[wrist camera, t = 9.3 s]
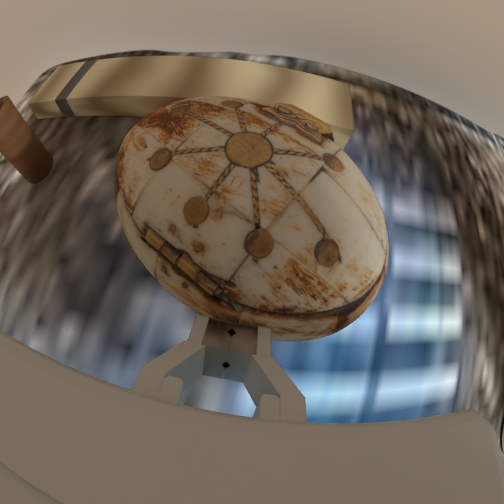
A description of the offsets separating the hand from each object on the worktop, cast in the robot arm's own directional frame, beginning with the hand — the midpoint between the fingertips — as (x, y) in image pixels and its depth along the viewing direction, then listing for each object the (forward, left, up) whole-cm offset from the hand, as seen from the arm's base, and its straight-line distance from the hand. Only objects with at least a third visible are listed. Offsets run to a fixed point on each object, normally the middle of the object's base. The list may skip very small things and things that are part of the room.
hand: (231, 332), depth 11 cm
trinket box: (0, -6, -5) cm, 8 cm away
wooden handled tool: (+19, -9, -5) cm, 22 cm away
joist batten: (+9, -18, -5) cm, 21 cm away
